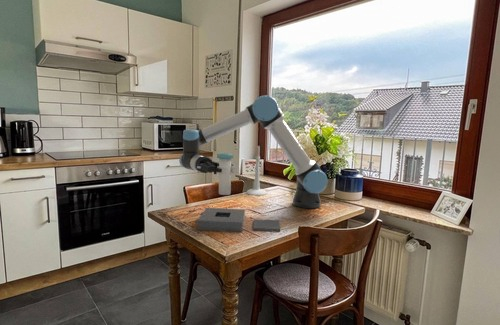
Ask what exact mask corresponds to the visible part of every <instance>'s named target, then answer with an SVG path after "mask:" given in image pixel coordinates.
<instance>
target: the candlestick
mask: <svg viewBox="0 0 500 325" xmlns="http://www.w3.org/2000/svg"><path fill="white" fill-rule="evenodd" d="M255 148H256V151H255V155H256V156H254V158H255V171H254V172H255V173H254V183H253V188H250V189H248V190H246V192H245V193H246V194H247V195H248V194H250V196H253V195H255V197H256V196H257V197H258V196H259V197H262V196H265V195H267V194H268V193H267V191H266V190H264V189H262V188H260V186H261V185H260V160H261V156H260V153H261V152H260V145H256V147H255ZM261 195H262V196H261Z"/></svg>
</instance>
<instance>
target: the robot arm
mask: <svg viewBox="0 0 500 325" xmlns="http://www.w3.org/2000/svg"><path fill="white" fill-rule="evenodd" d="M284 117H285V115H284V112H283V111H282V110H281V108H280V106H279V103H278V101H277V100H276V99H275V97H273V96H270V95H261V96H259V97H257V98H256V99H254V102H253V103H251V104H250V105H248V106H246V107H245V109H244V110H242V111H238V112H237V113H235V114H233V115H230V116H228V117H226V118H223V119H222V120H219V121H217V122H215V123H213V124H210V125H209V126H206V127H203V128H202V129H199V130H197V129H184V130H183V131H182V132H183V134H182V149H183V150H182V154H181V155H180V157H179V160H178V161H179V165H180V166H181V167H183V169H187V170H190V171H194V172H195V171H196V172H197V173H203V174H207V173H210V174H212V173H213V175H217V174H219V173H220V174H224V175H228V168H225V167H220V166H219V161H217V162H216V161H214V160H212V159H211V158H210V157H209V156H203V155H199V152H200V151H199V149H200V148H199V147H201V146H203V145H206V144H207V143H209V142H211V141H214V140H216V139H219V138H221V137H224V136H225V135H227V134H229V133H232V132H234V131H236V130H237V131H238V129H241V128H243V127H246V126H248V125H250V124H252V125H254V124H256V123H260V125H261V126H262V128H263V129H265V130H268V131H269V133H270V134H271V135H272V137H273V138H274V140H275V141H276V143H277V144H278V145H279V147H280V149H281V150H282V152H283V153H284V155H286V157H287V159H288V160H289V162H290V164H291V165H292V167H293V168H294V169H295V171H294V172H295V176H296V190H295V193H294V195H293V198H292V205H293V206H295V207H297V208H301V209H303V208H304V209H317V208H320V207H321V205H322V204H321V198H320V193H322V192H323V191H324V190H326V187H327V186H328V177H327V175H326V173H325V172H324V171H323V170H322V169H321V166H320V164H319V163H317V162H316V160H314V159H313V160H312V159H311V158H310V157H309V155H308V154H307V152H306V151H305V149H304V148H303V146H302V145H301V143H300V142H299V141H298V139H297V137H296V136H295V135H294V133H293V131H292V130H291V129H290V127H289V125H288V124H287V123H286V121H285V120H284ZM232 173H233V174H238V175H239V174H240V167H239V166H236V165H234V164H232V163H231V174H232Z"/></svg>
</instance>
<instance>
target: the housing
mask: <svg viewBox="0 0 500 325" xmlns="http://www.w3.org/2000/svg"><path fill="white" fill-rule="evenodd" d="M245 218H246V209H244V208H243V209H242V208H241V209H240V208H221V207H220V208H218V207H205V209H204V210H203V212H202V213H201V214H200V217H199V218H198V219H197V231H212V232H213V231H215V232H231V233H232V232H233V233H243V227H244V222H245Z"/></svg>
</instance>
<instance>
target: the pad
mask: <svg viewBox="0 0 500 325" xmlns="http://www.w3.org/2000/svg"><path fill="white" fill-rule="evenodd" d="M280 225H281V224H280V220H278V219H277V220H276V219H257V218H255V219H253V226H252V227H253V229H252V231H260V232H261V231H262V232H263V231H264V232H281V226H280Z"/></svg>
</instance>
